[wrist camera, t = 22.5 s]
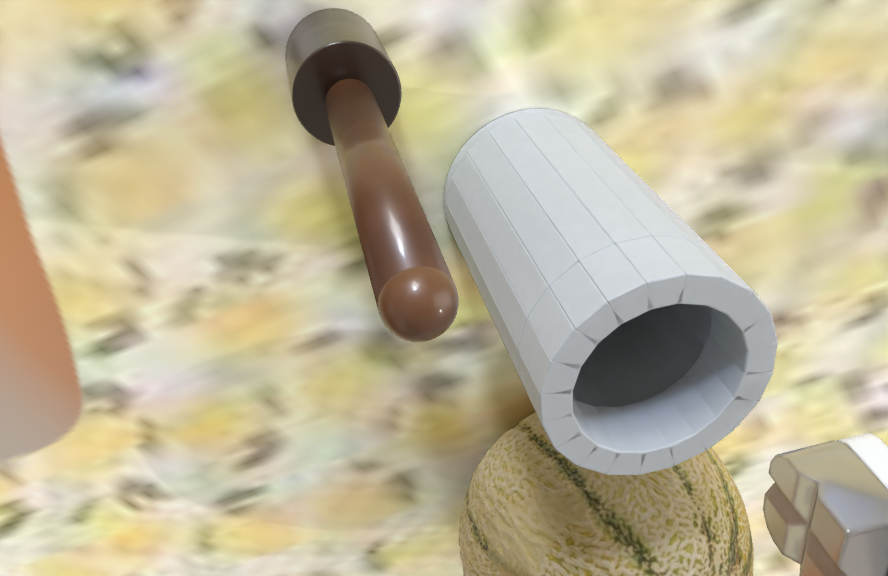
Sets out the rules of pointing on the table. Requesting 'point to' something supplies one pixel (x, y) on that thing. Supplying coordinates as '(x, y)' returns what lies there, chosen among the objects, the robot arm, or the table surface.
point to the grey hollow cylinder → (604, 297)
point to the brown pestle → (371, 166)
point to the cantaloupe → (599, 516)
